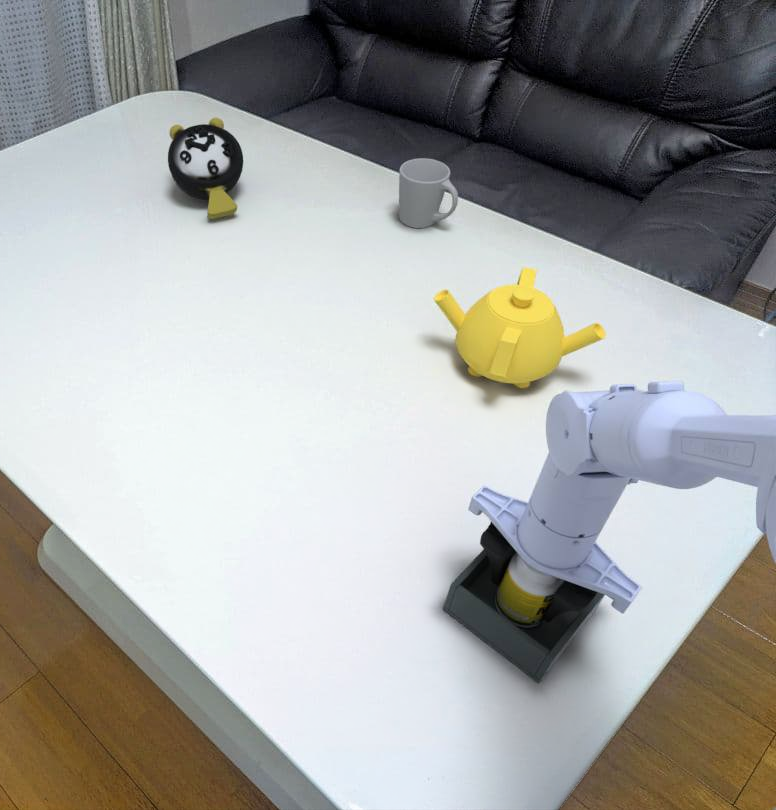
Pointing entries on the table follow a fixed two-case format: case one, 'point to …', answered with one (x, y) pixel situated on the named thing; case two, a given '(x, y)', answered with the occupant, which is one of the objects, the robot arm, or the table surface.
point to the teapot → (513, 332)
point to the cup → (424, 192)
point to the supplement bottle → (525, 593)
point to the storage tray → (519, 645)
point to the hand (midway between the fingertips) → (525, 595)
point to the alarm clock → (206, 164)
